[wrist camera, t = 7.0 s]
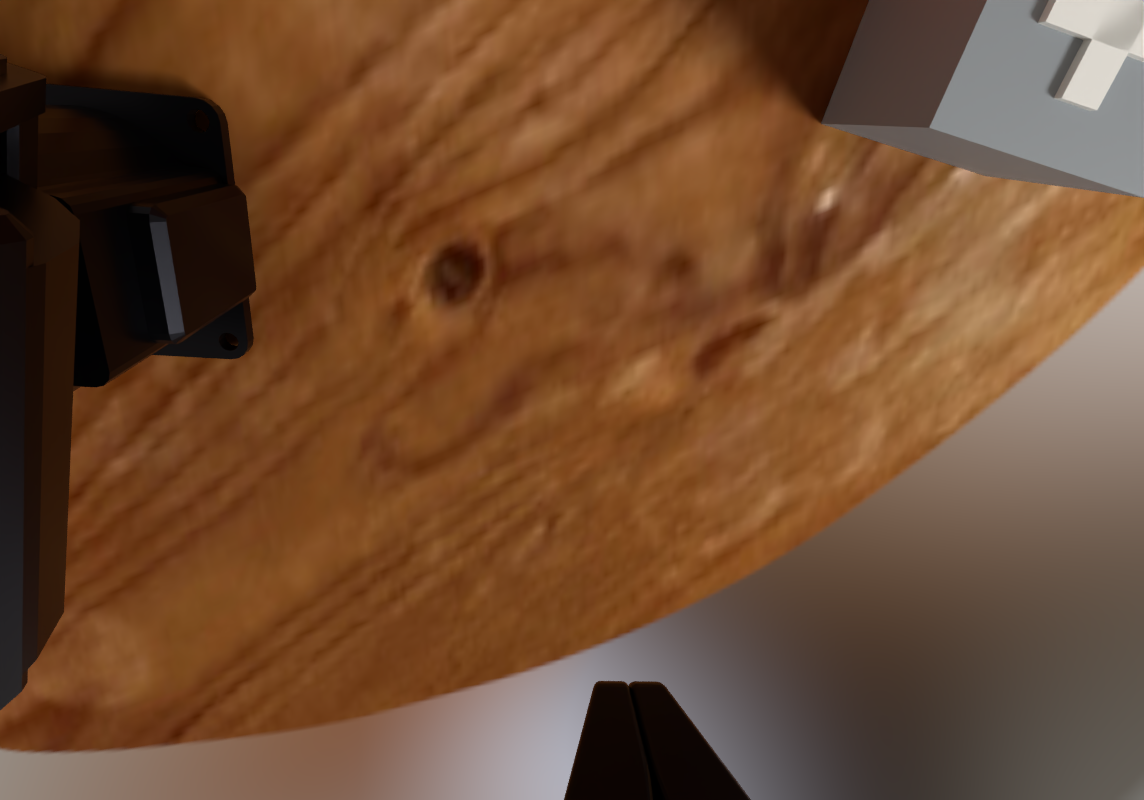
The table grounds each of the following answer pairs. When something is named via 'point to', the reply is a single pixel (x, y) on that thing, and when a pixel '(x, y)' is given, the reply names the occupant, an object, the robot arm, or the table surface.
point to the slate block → (1003, 87)
